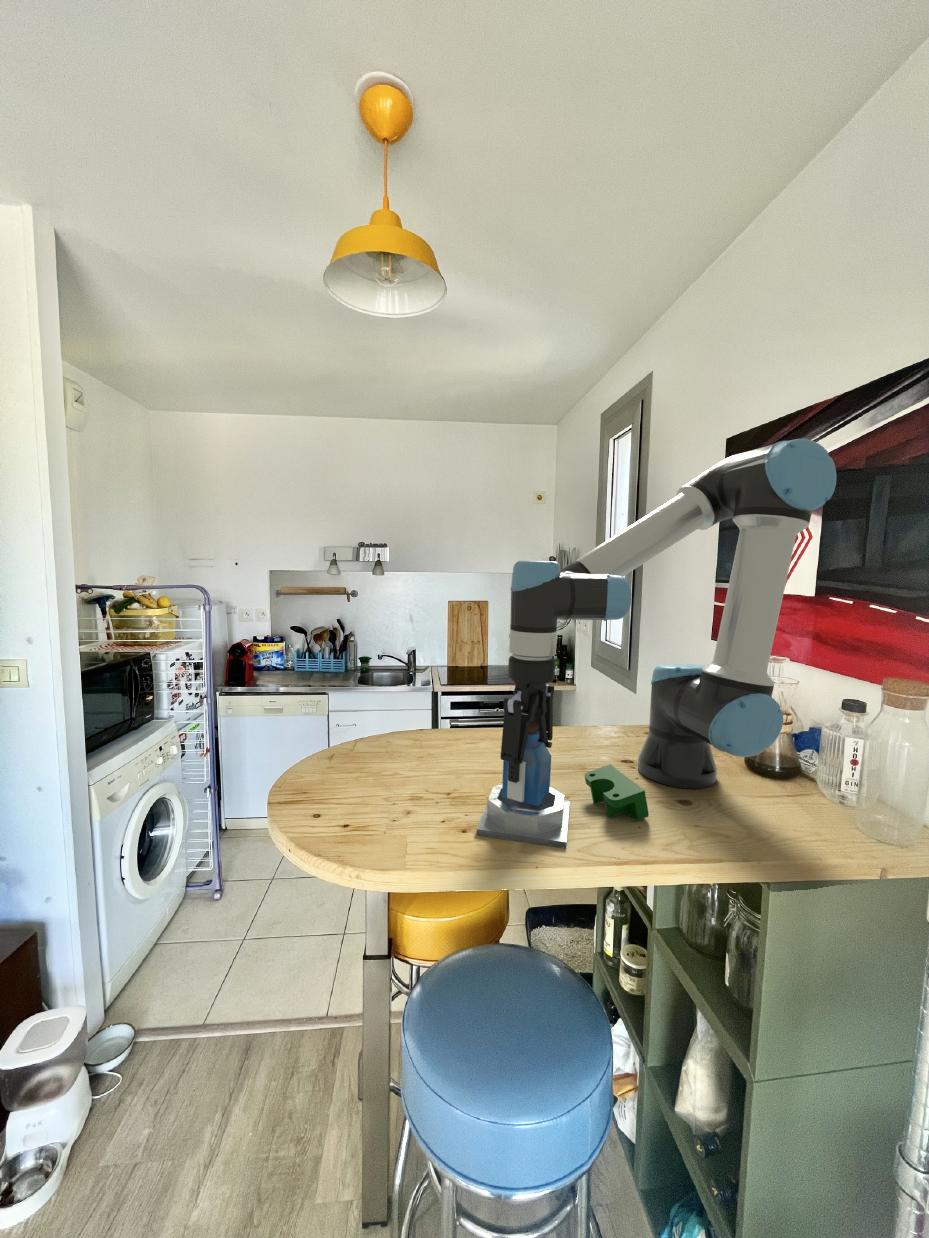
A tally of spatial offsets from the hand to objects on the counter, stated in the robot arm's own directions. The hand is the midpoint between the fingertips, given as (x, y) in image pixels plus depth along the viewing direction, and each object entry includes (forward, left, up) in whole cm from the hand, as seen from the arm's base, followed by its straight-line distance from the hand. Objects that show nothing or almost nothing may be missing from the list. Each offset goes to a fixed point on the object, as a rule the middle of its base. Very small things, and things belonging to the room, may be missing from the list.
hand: (526, 790), depth 86 cm
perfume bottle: (0, 0, -1) cm, 1 cm away
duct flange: (0, 0, -5) cm, 5 cm away
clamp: (-15, -8, -5) cm, 18 cm away
